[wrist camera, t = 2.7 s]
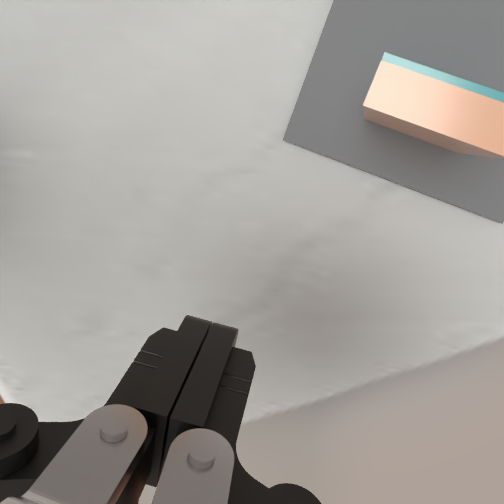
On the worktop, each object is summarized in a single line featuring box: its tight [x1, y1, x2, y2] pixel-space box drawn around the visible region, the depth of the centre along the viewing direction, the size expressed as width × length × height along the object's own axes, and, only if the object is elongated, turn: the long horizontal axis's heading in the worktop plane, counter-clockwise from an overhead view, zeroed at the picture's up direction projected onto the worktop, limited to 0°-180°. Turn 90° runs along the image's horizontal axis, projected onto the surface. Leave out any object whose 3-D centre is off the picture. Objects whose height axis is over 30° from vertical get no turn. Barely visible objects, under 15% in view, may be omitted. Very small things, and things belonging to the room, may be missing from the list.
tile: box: [363, 52, 504, 159], centre depth 22 cm, size 6×2×12 cm, turn 70°
